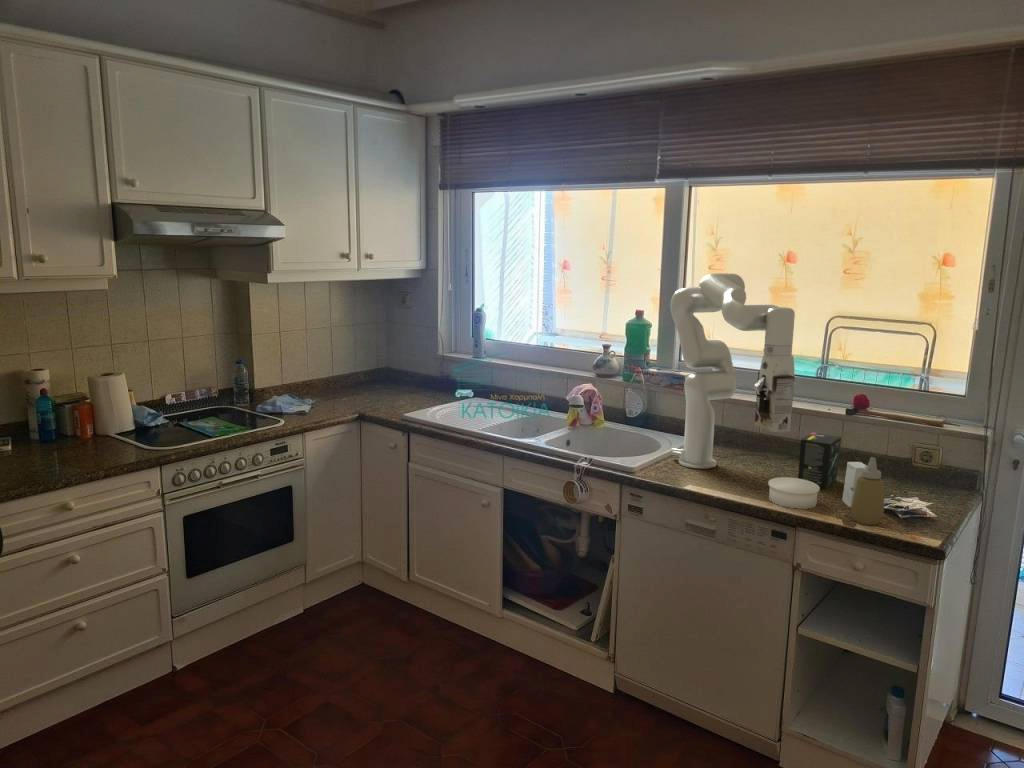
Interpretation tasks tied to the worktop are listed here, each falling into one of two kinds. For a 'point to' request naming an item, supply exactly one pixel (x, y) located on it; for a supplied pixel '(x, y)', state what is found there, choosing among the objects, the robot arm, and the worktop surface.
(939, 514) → the worktop surface
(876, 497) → the squeeze bottle
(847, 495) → the skincare box
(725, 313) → the robot arm
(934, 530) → the worktop surface
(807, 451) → the tampon box
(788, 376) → the coffee box
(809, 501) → the podium
